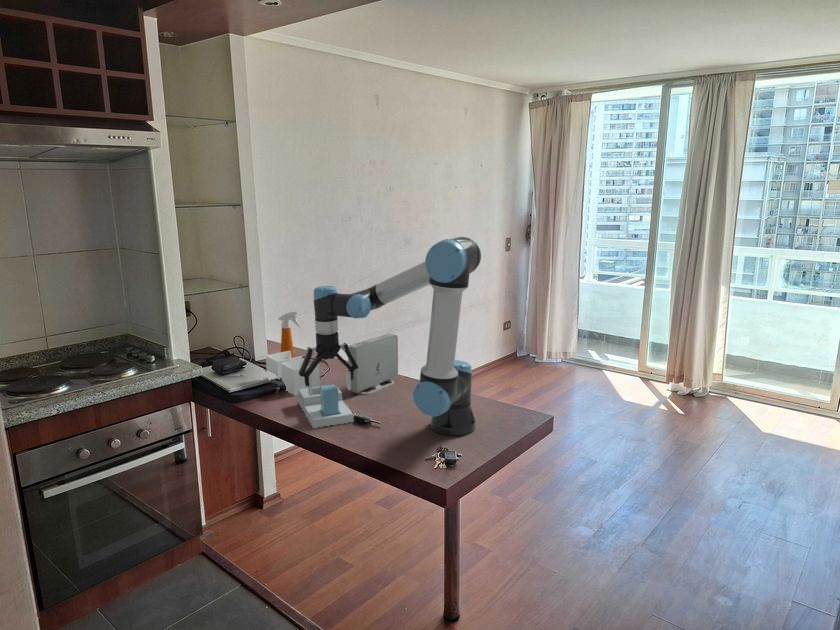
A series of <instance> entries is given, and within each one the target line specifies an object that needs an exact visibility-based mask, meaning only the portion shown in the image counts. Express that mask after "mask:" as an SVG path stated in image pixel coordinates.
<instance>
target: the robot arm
mask: <svg viewBox="0 0 840 630" xmlns="http://www.w3.org/2000/svg"><path fill="white" fill-rule="evenodd" d="M481 260H482V252H481V249H480V246H479V245H478V243H477V242H476V241H474V239H471V238H469V237H466V236H461V237H460V236H459V237H455V238H450V239H448V238H446V239H443V240H439V241H438V242H436V243H434V244H433V245H432V246H431V247H430V248H429V249H428V251H427V253H426V256H425V261H423V262H421V263H419V264H417V265H415V266H413V267H410V268H409V269H406V270H405V271H402V272H400V273H398V274H396V275H394V276H391V277H389V278H387V279H385V280H383V281H381V282H379V283H376V284H374V285H372V286H371V287H368V288H366V289H362V290H359V291H356V292H353V293H338V292H337V288H336V286H333V285H320V286H316V287H315V288H314V289H313V308H314V324H315V326H314V327H315V342H316V343H315V347H310V346H308V347H306V355H305V356H304V358H305V359H304V358H303V359H304V361H303V364H302V366H301V368H300V371H299V375H300V376H301V377H302V376H303V377H305V385H306V387H307V386H308V393H309V395H310V396H312V380H311V376H310V374H311V373H312V372H313V370H314V369H315V368H316V366H317V365H318V364H319V365H320V362H322V361H323V360H324V361H325V360H329V359H330V360H333V359H335V358H337V359H338V360H339V361H340V362H341V364H342V365H343V366H345V367H346V368H347V369H346V374H345V375H346V376H345V377H346V388H347V389H348V391H352V390H351V380H353V372H354V370H355V369H358V365H357V363H356V362H355V360H354V358H353V357H352V355H351V353H350V351H349V348H348V347H349V345H348V344H347V343H346V342H343V343H342V344H340V343H339V340H340V339H339V332H338V331H339V324H338V323H339V322H338V321H339V320H338V317H343V318H353V319H365V318H367V317H368V315H369V314H370V313H371V311H373V310H377V309H381V308H382V307H384V306H385V305H387V304H389V303H391V302H395V301H396V300H398V299H400V298H403V297H405V296H408V295H409V294H412V293H414V292H416V291H419V290H421V289H424V288H425V287H428V286H431V288H432V289H433V293H432V295H433V296H432V304H431V314H430V323H429V334H428V343H427V344H428V345H427V352H426V353H427V354H426V363H425V364H424V365H423V366H422V367H421V368H420V374H419V382H418V383H417V384H416V385H415V387H414V389H413V392H412V399H413V402H414V405H415V407H417V409H418V410H419V412H421V413H422V414H424V415H426V416H429V417H431V419H430V428H431V430H432V431H434V432H435V433H438V434H441V435H445V436H452V437H455V436H465V435H468V434H471V433H473V432H474V431H475V430H476V426H477V425H476V418H475V415H474V412H473V409H472V377H473V376H472V375H473V372H472V365H471V364H470V363H469V362H468V361H464V360H459V359H456V353H457V352H456V351H457V342H458V333H459V325H460V316H461V315H460V314H461V309H462V308H461V307H462V298H463V292H465V291H466V289H468V288H469V282H470V274H471V273H473V272H474V271H476V269H477V268H478V267H479V266H480V263H481ZM340 350H342V351H344V353H345V355H346V357H347V359H348V358H349V360H350V362H351V363H352V366H350V365H349V364H348V361H346V360H345V359H344V358H343V357H342V356H341V355H340V354H339V352H340ZM315 352H316V353H317V354H316V356H315V357H314V359H313V360H312V362H311V363H310V361H311V359H312V356H313V355H314V353H315ZM309 363H310V365H309ZM307 366H309V367H308V369H307V370H306V368H307ZM348 369H349V370H348ZM305 371H306V372H305Z"/></svg>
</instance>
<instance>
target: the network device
mask: <svg viewBox="0 0 840 630" xmlns="http://www.w3.org/2000/svg"><path fill="white" fill-rule="evenodd" d="M398 340H399V339H398V335H397V334H395V333H394V334H392V333H386V334H383V335H379V336H375V337H372V338H369V339H366V340H363V341H359V342H357V343H352V344H350V345H348V348H349V351H350V353H351V355H352V357H353V358H354V360H355V362H356V363H357V365H358V369H355V370H354V372H353V380H351V390H350V391H352V392H353V393H355V394H359V395H361V394H362V396H367V395H368V396H369V395H372V394H375V393H377V392H379V391H381V389H382V390H384V389H387V388H389V387H391V386H393V385H394V384H395V381H394V380H392V379H394V378H396V377H397V376H398V374H399V356H398V355H399V353H398V352H399V349H398V347H399V346H398V345H399V343H398V342H399V341H398ZM347 363H348V364H349V365H350V366H352V363H351V362H350V360H349V358H348V357H347ZM347 370H349V369H348V368H347ZM386 381H388V382H387V383H388V384H386V385H381V383H384V382H386ZM390 382H392V383H390ZM392 384H393V385H392ZM390 385H391V386H390ZM388 386H389V387H388ZM370 387H371V388H370ZM386 387H387V388H386ZM369 388H370V389H372V390H370V391H368V392H364V391H363V390H366V389H369ZM373 388H374V389H373ZM383 388H384V389H383ZM376 391H377V392H376ZM374 392H375V393H374Z"/></svg>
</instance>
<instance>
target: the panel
mask: <svg viewBox="0 0 840 630" xmlns="http://www.w3.org/2000/svg"><path fill="white" fill-rule="evenodd" d="M334 385H335V386H336V387H337V388H338V407H339V414H337V415H331V416H324V417H323V416H322V415H321V397H320V386H321V385H320V386H317V387H312V396H310V395H309V393H308V388H303V389H298V404H299V407H300V406H301V407H300V408H302V409H301V410H302V412H303V411H304V412H303V413H305V414H304V415H305V417H306V419H307V418H308V419H307V421H308V422H309V424H310V423H311V424H310V425H311V427H312V429H313V428H314V429H319V428H318V427H321V428H324V427H323V426H327V427H331V426H330V425H333V426H338V424H339V425H345V424H349V422H351V423H354V413H353V411H352V410H351V409H350V408H349V407H348V405H347V404H346V403H345V402H344V400H343V392H342V391H341V390H340V388H339V387H338V386H337V385H336V383H335V384H334ZM344 423H345V424H344Z"/></svg>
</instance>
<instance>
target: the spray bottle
mask: <svg viewBox="0 0 840 630" xmlns="http://www.w3.org/2000/svg"><path fill="white" fill-rule="evenodd" d="M298 314H299V312H298V310H293V311H289V312H286V313H285V314H282V315H281V316H279V317H278V320H279V321H281V322H282V323H281V334H280V335H281V337H280V353H281V352H286V351H291V358H295V352H294V345H293V338H292V332H291V324H290V321H292V323H294V324H295V325H296V326H297V327H298V328H300V329H302V328H303V326H302V325H301V324H300V323H299V321H298V319H297V315H298Z"/></svg>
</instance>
